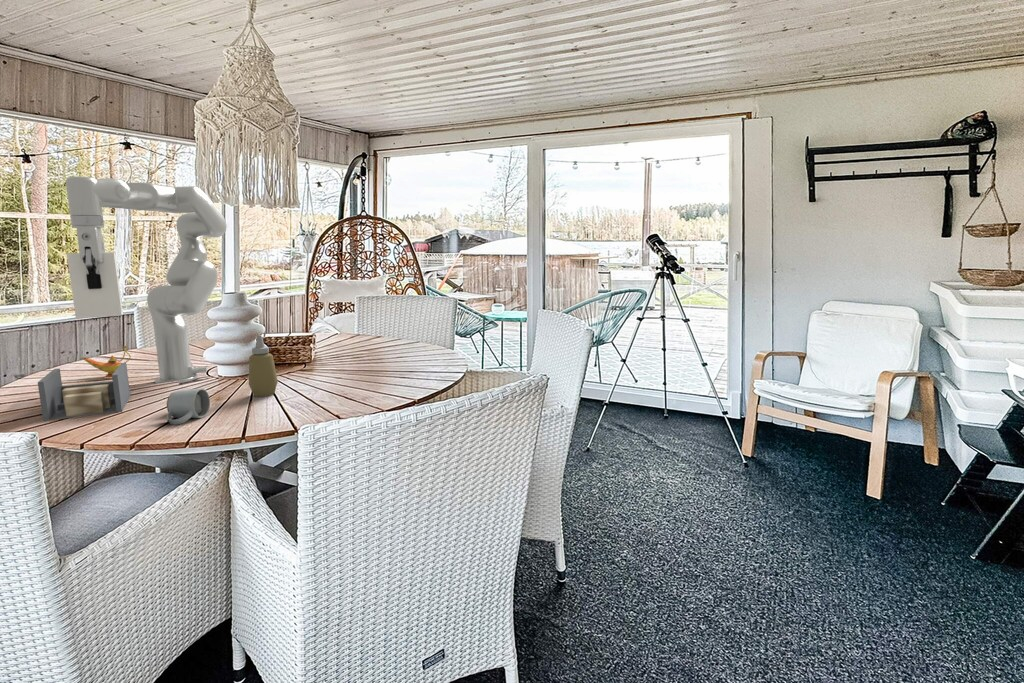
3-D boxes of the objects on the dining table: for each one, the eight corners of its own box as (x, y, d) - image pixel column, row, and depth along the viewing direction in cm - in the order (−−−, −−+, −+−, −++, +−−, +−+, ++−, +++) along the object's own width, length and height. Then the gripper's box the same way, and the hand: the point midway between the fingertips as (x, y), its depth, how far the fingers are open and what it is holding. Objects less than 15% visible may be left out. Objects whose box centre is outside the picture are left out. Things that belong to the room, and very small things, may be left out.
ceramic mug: (182, 413, 165) (179, 385, 164) (212, 412, 165) (208, 385, 163) (158, 425, 155) (154, 396, 153) (190, 425, 154) (186, 396, 153)
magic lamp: (89, 374, 215) (85, 343, 214) (139, 374, 215) (135, 343, 213) (75, 379, 209) (70, 347, 207) (126, 378, 208) (122, 346, 206)
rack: (131, 401, 178) (126, 362, 176) (122, 417, 162) (117, 374, 160) (60, 409, 171) (54, 368, 169) (44, 426, 155) (37, 382, 153)
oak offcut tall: (111, 405, 169) (108, 384, 168) (109, 407, 166) (107, 386, 165) (67, 410, 164) (64, 388, 163) (65, 412, 162) (62, 390, 161)
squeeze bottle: (284, 392, 186) (279, 333, 183) (265, 398, 178) (260, 338, 175) (262, 390, 189) (257, 332, 186) (243, 397, 181) (238, 337, 178)
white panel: (123, 314, 179) (115, 252, 176) (121, 315, 176) (113, 252, 173) (77, 317, 174) (69, 253, 171) (75, 318, 172) (66, 253, 169)
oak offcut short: (104, 409, 165) (102, 391, 164) (103, 412, 162) (100, 393, 161) (69, 413, 161) (66, 394, 160) (66, 416, 158) (63, 397, 158)
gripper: (98, 221, 165) (107, 289, 168) (108, 223, 180) (116, 285, 183) (64, 221, 162) (74, 291, 165) (77, 223, 176) (85, 287, 180)
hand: (96, 287), depth 174 cm, fingers closed on white panel, 3 cm apart
